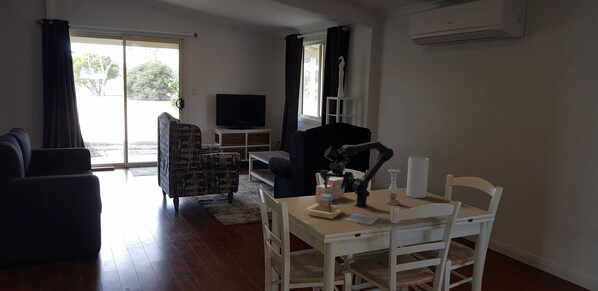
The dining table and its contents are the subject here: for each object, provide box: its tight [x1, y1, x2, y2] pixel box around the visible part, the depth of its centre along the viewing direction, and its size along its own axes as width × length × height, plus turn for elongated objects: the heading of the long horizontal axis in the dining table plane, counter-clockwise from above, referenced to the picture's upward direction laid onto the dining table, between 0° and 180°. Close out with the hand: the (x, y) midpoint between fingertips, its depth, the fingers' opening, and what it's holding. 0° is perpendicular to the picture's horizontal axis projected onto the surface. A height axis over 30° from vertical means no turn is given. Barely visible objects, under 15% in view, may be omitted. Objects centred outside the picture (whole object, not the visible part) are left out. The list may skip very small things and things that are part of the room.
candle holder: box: [384, 168, 402, 206], centre depth 272 cm, size 9×9×20 cm
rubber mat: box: [344, 213, 380, 226], centre depth 235 cm, size 14×14×1 cm
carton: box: [305, 203, 345, 219], centre depth 242 cm, size 17×17×4 cm
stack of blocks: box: [315, 177, 346, 202], centre depth 278 cm, size 21×6×12 cm, turn 139°
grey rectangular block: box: [318, 194, 333, 213], centre depth 242 cm, size 5×5×10 cm
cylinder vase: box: [406, 156, 430, 199], centre depth 292 cm, size 12×12×25 cm
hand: (333, 188), depth 247 cm, fingers open, 9 cm apart
